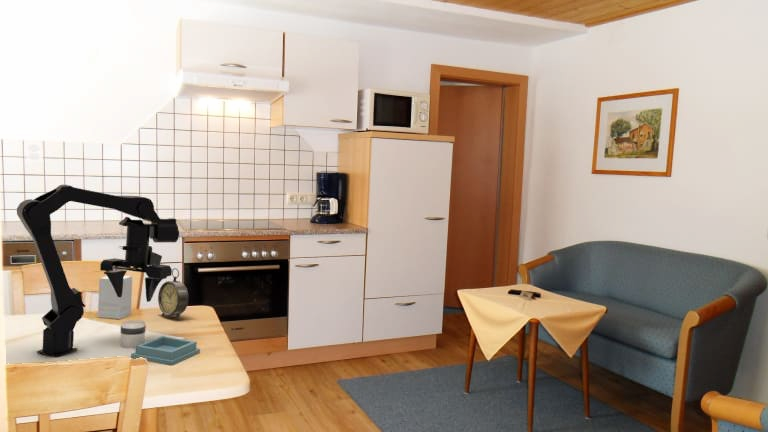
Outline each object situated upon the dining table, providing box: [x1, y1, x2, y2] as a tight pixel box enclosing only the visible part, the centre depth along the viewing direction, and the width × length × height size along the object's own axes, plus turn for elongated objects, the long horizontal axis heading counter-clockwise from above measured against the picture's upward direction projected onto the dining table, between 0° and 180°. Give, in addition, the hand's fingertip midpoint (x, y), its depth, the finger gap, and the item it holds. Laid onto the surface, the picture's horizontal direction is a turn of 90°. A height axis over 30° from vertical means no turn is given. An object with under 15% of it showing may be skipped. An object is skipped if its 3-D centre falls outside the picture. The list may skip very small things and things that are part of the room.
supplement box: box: [97, 275, 133, 320], centre depth 185 cm, size 7×7×13 cm
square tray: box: [130, 335, 201, 366], centre depth 151 cm, size 12×12×3 cm
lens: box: [119, 319, 147, 349], centre depth 157 cm, size 6×6×6 cm
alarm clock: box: [157, 267, 190, 321], centre depth 188 cm, size 11×5×16 cm, turn 54°
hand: (134, 299), depth 158 cm, fingers open, 9 cm apart
